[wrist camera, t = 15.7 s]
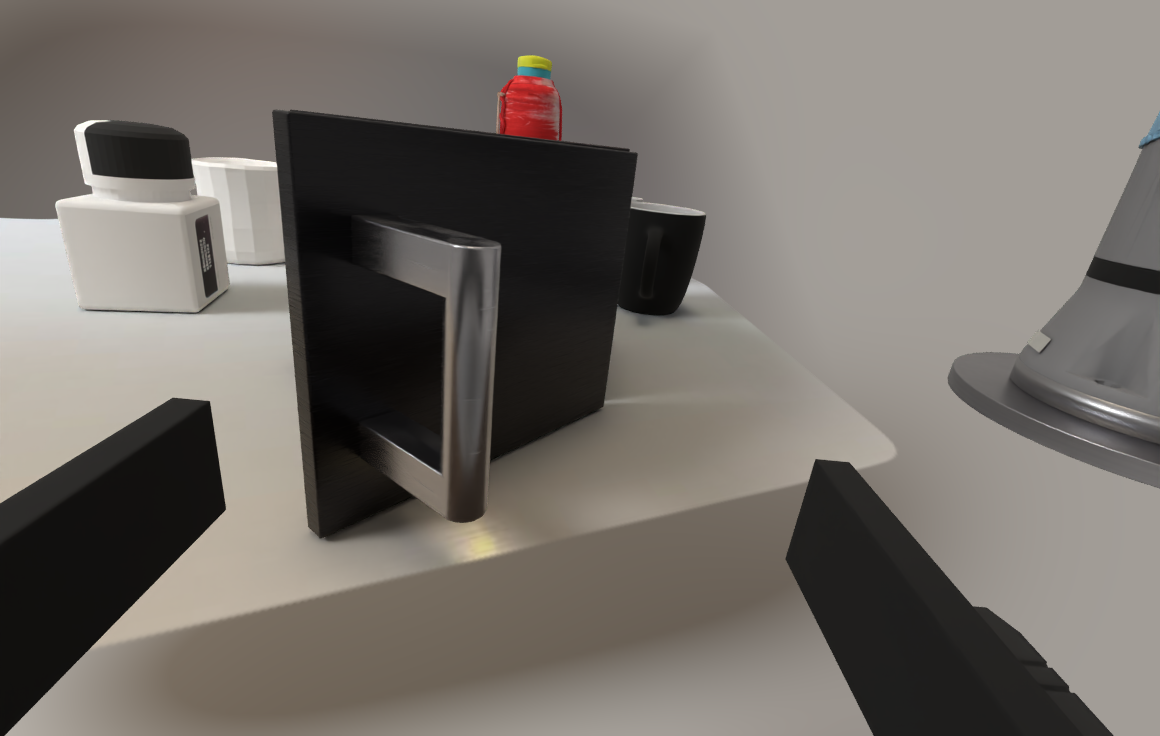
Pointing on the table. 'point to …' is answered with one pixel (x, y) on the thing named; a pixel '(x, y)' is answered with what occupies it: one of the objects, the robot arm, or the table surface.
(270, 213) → the cup
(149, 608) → the table surface
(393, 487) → the door
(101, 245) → the container
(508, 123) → the water bottle
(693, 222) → the mug
